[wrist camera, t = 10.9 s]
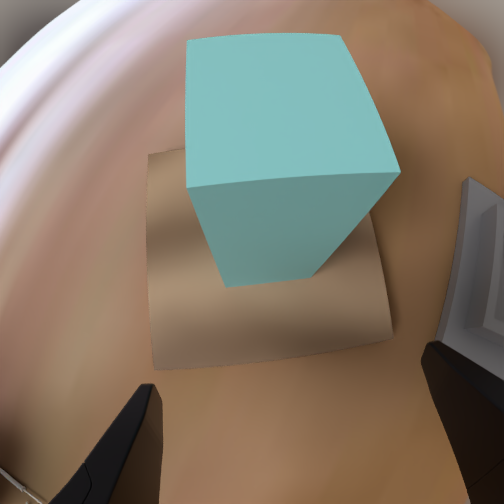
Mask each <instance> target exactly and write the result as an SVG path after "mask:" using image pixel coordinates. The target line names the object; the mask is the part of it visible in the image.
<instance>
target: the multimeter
mask: <svg viewBox="0 0 504 504" xmlns="http://www.w3.org/2000/svg"><path fill="white" fill-rule="evenodd" d="M0 473H1V474H2V475H3V476H4V477H5V478H6V479H8V480H9V481H10V482H11V483H12V484H13V485H15V486H16V487H17V488H18V489H20V491H21V492H25V493H27V494H28V495H29V496H31V497H32V498H33V499H35V500H36V501H37V502H39V503H41V504H43V503H42V502H41V501H39V500H38V499H37V498H35V497H34V496H33V495H31V494H30V493H29V492H27V491H26V490H25V489H26V487H24V486H22V485H21V484H20V483H18V482H17V481H16V480H15V479H13V478H12V477H11V476H10V475H9V474H8V473H6V472H5V471H4V470H3V469H1V468H0ZM26 504H28V503H27V501H26Z"/></svg>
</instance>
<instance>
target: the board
mask: <svg viewBox="0 0 504 504" xmlns="http://www.w3.org/2000/svg"><path fill="white" fill-rule="evenodd" d="M146 247H147V282H148V302H149V318H150V331H151V343H152V354H153V363H154V370H174V369H192V368H206V367H218V366H230V365H240V364H249V363H258V362H266V361H274V360H281V359H288V358H295V357H302V356H308V355H315V354H321V353H326V352H332V351H337V350H343V349H348V348H353V347H358V346H363V345H368V344H373V343H377V342H382V341H386V340H391V339H394V336H393V329H392V322H391V315H390V309H389V303H388V297H387V291H386V286H385V280H384V275H383V270H382V265H381V260H380V256H379V251H378V246H377V242H376V237H375V233H374V229H373V225H372V221H371V217H370V213H369V212H368V213H367V214H366V215H365V216H364V218H363V219H362V220H361V221H360V222H359V223H358V225H357V226H356V227H355V228H354V229H353V230H352V232H351V233H350V234H349V235H348V236H347V237H346V239H345V240H344V241H343V242H342V243H341V244H340V245H339V247H338V248H337V249H336V250H335V251H334V252H333V253H332V254H331V256H330V257H329V258H328V259H327V260H326V261H325V262H324V263H323V265H322V266H321V267H320V268H319V269H318V270H317V271H316V272H315V273H314V274H313V276H312V277H311V278H305V279H297V280H289V281H281V282H272V283H264V284H255V285H246V286H237V287H228V288H226V287H225V285H224V282H223V280H222V278H221V275H220V273H219V270H218V268H217V265H216V263H215V260H214V258H213V255H212V253H211V250H210V248H209V245H208V243H207V240H206V238H205V235H204V232H203V230H202V227H201V225H200V222H199V220H198V217H197V214H196V212H195V209H194V207H193V204H192V201H191V199H190V196H189V193H188V191H187V188H186V149H179V150H173V151H166V152H160V153H154V154H148V172H147V206H146Z"/></svg>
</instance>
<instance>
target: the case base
mask: <svg viewBox="0 0 504 504" xmlns="http://www.w3.org/2000/svg"><path fill="white" fill-rule="evenodd" d="M435 340H439V341H441V342H443V343H444V344H446V345H448V346H449V347H451V348H452V349H454V350H456V351H457V352H459V353H461V354H462V355H464V356H465V357H467V358H469V359H470V360H472V361H474V362H475V363H477V364H478V365H480V366H482V367H483V368H485V369H486V370H488V371H490V372H491V373H493V374H494V375H496V376H498V377H499V378H501V379H502V380H504V199H502V198H501V197H500V196H498V195H497V194H495V193H494V192H492V191H491V190H489V189H488V188H486V187H485V186H483V185H482V184H480V183H479V182H477V181H475V180H474V179H472V178H471V177H468V178H467V179H466V180H465V181H464V182H463V183H462V196H461V207H460V217H459V225H458V233H457V240H456V246H455V253H454V259H453V264H452V270H451V275H450V280H449V285H448V289H447V294H446V298H445V303H444V307H443V311H442V315H441V319H440V323H439V326H438V330H437V333H436V337H435ZM435 340H434V341H435Z"/></svg>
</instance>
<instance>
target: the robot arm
mask: <svg viewBox="0 0 504 504" xmlns="http://www.w3.org/2000/svg"><path fill="white" fill-rule="evenodd" d="M421 365H422V368H423V371H424V374H425V377H426V380H427V383H428V387H429V390H430V393H431V396H432V399H433V402H434V404H435V407H436V409H437V411H438V414H439V416H440V419H441V421H442V423H443V426H444V428H445V431H446V433H447V436H448V439H449V441H450V444H451V446H452V449H453V452H454V454H455V457H456V460H457V463H458V465H459V468H460V471H461V474H462V477H463V480H464V483H465V486H466V489H467V493H468V496H469V499H470V502H471V504H504V380H502V379H501V378H499V377H498V376H496V375H494V374H493V373H491V372H490V371H488V370H486V369H485V368H483V367H482V366H480V365H478V364H477V363H475V362H474V361H472V360H470V359H469V358H467V357H465V356H464V355H462V354H461V353H459V352H457V351H456V350H454V349H452V348H451V347H449V346H448V345H446V344H444V343H443V342H441V341H439V340H435V341H431V342H428V343H427V345H426V347H425V350H424V353H423V355H422V358H421ZM162 454H163V413H162V399H161V397H160V395H159V393H158V391H157V389H156V386H155V385H154V384H141V385H140V386H139V387H138V389H137V390H136V391H135V393H134V394H133V395H132V397H131V398H130V399H129V401H128V402H127V404H126V405H125V406H124V408H123V409H122V410H121V412H120V413H119V414H118V416H117V417H116V418H115V420H114V421H113V422H112V424H111V425H110V427H109V428H108V429H107V431H106V432H105V433H104V435H103V436H102V437H101V439H100V440H99V442H98V443H97V444H96V446H95V447H94V448H93V450H92V451H91V452H90V454H89V455H88V457H87V458H86V459H85V461H84V462H85V463H82V465H81V466H80V467H79V469H78V470H77V471H76V473H75V474H74V475H73V477H72V478H71V479H70V480H69V482H68V483H67V484H66V485H65V486H64V487H63V488H62V490H61V491H60V492H59V493H58V494H57V495H56V496H55V497H54V498H53V499H52V500H51V501H50V502H49V503H48V504H159V491H160V477H161V465H162Z"/></svg>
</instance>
